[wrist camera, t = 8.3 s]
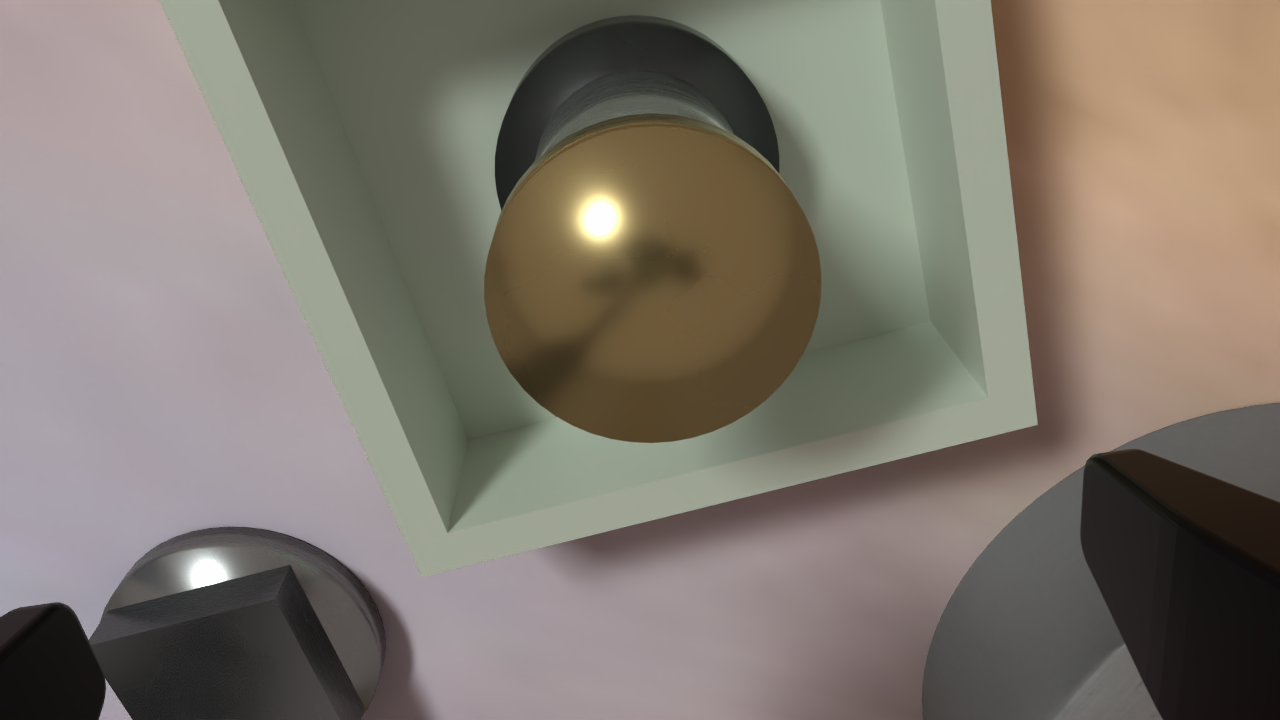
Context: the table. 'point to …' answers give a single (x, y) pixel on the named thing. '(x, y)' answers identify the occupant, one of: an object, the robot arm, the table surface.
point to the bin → (469, 211)
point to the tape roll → (1070, 594)
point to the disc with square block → (240, 632)
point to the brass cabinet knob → (646, 236)
